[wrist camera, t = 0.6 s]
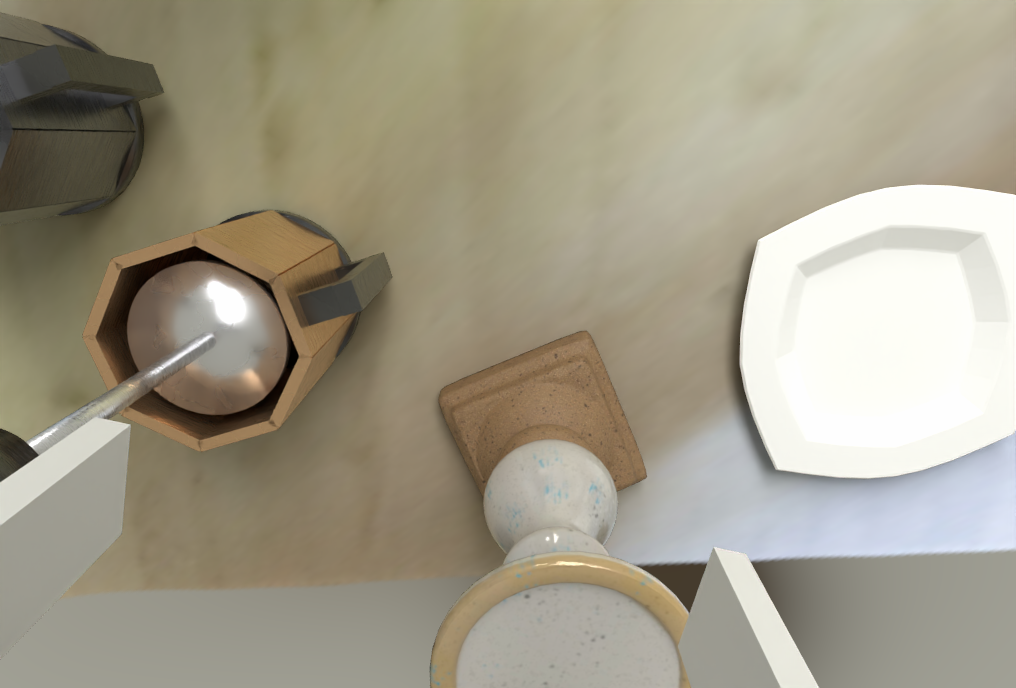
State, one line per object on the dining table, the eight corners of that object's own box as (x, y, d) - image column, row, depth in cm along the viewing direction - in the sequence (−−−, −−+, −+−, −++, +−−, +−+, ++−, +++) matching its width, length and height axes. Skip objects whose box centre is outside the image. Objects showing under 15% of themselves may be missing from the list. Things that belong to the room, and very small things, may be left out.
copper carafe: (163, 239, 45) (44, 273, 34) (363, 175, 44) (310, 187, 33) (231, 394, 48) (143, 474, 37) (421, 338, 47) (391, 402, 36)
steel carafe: (-72, 59, 43) (-290, 28, 31) (135, -15, 41) (-12, -75, 30) (15, 235, 46) (-155, 268, 34) (211, 171, 44) (104, 182, 33)
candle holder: (501, 521, 51) (490, 836, 28) (437, 388, 48) (365, 616, 25) (646, 467, 50) (759, 749, 27) (588, 327, 47) (658, 506, 24)
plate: (1030, 158, 44) (1053, 159, 42) (1022, 443, 49) (1042, 455, 47) (718, 212, 45) (727, 215, 43) (743, 485, 50) (752, 499, 48)
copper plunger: (109, 285, 36) (-292, 429, 18) (255, 239, 35) (-12, 341, 17) (174, 426, 38) (-127, 680, 20) (313, 385, 37) (129, 610, 20)
